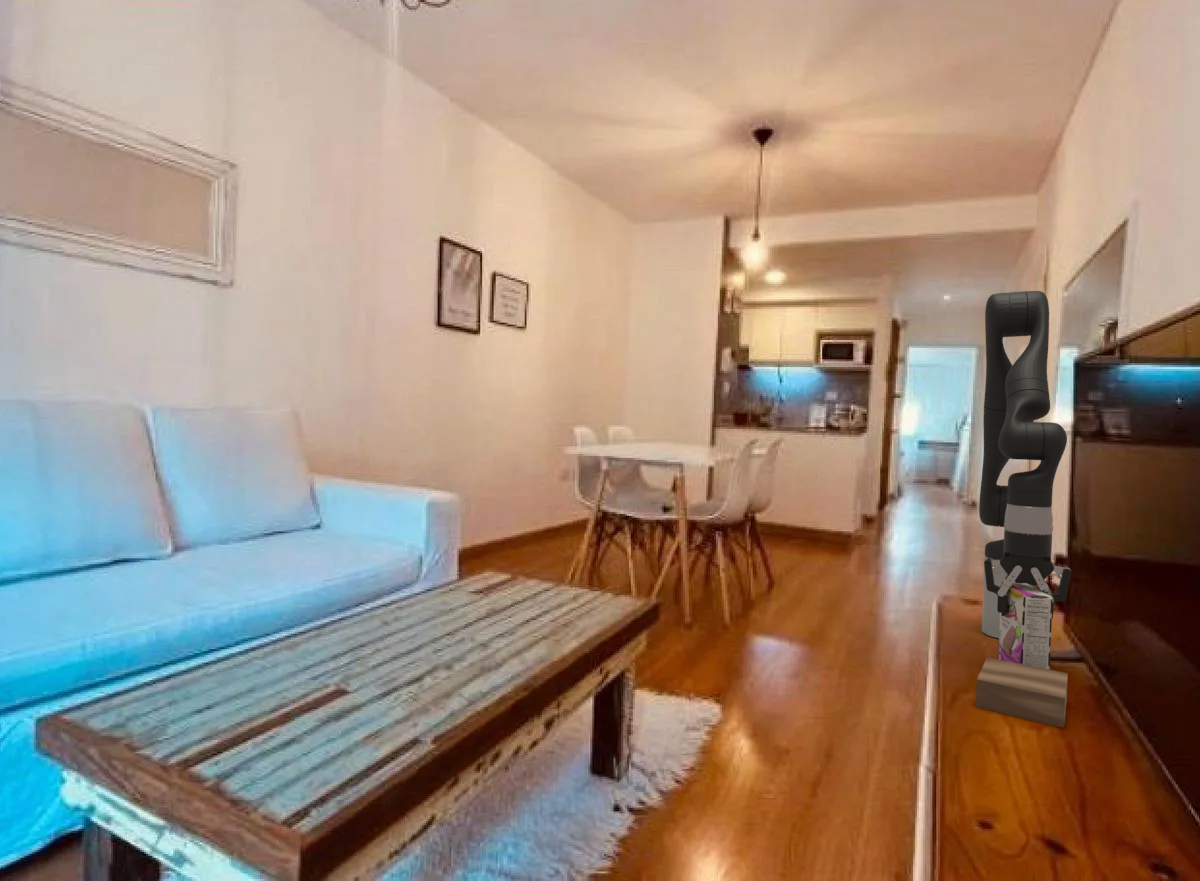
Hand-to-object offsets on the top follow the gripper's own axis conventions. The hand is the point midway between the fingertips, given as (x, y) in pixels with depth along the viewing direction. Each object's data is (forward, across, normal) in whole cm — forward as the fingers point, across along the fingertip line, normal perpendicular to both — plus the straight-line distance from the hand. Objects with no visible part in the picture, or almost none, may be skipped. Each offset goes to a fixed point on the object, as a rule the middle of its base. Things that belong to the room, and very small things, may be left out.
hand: (1024, 618), depth 125 cm
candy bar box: (+11, 0, 0) cm, 11 cm away
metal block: (+11, 0, +15) cm, 19 cm away
